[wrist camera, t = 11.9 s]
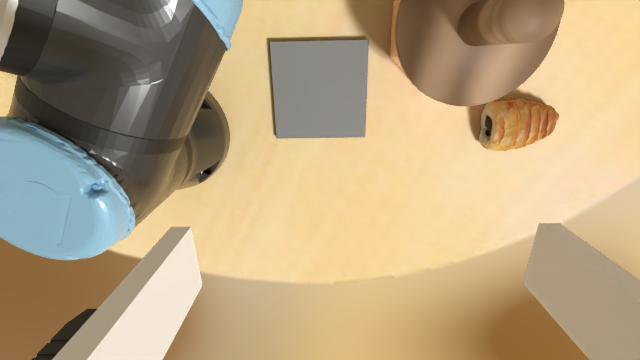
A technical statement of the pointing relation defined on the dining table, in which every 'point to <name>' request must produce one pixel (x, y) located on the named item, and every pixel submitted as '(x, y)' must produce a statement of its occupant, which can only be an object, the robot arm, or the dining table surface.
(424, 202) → the dining table surface
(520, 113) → the pastry
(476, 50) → the lid
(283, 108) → the mat
